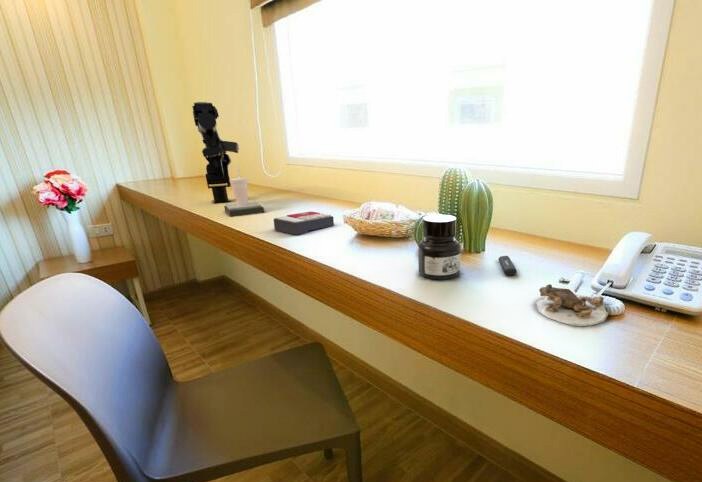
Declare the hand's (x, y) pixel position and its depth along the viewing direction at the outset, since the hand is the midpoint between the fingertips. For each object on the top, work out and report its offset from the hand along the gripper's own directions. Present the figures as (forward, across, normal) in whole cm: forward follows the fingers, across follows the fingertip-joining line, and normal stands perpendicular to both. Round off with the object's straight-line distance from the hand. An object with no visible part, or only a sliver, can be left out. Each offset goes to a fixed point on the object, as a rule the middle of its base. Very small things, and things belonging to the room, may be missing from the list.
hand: (225, 177), depth 152 cm
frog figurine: (+54, -110, -64) cm, 138 cm away
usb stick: (+48, -89, -64) cm, 120 cm away
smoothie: (+12, -6, -4) cm, 14 cm away
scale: (+15, -6, -4) cm, 16 cm away
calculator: (+27, -38, -24) cm, 53 cm away
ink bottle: (+45, -87, -49) cm, 110 cm away
